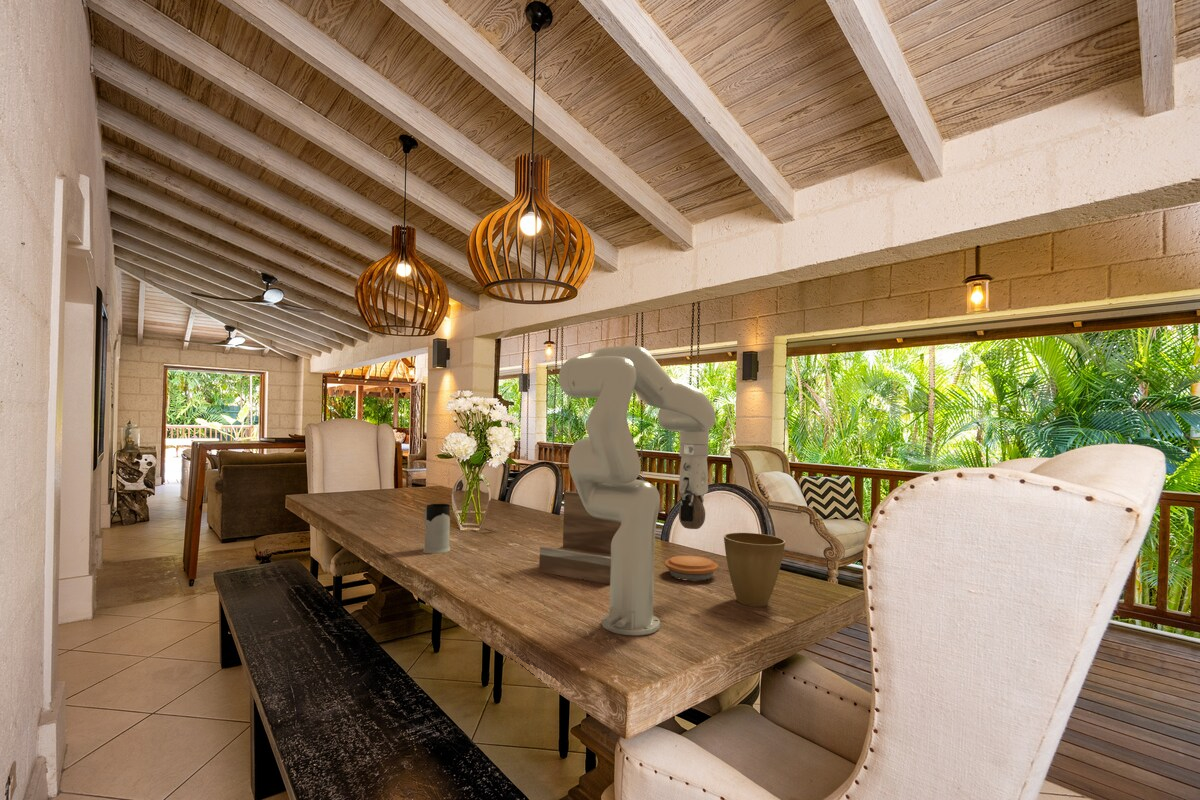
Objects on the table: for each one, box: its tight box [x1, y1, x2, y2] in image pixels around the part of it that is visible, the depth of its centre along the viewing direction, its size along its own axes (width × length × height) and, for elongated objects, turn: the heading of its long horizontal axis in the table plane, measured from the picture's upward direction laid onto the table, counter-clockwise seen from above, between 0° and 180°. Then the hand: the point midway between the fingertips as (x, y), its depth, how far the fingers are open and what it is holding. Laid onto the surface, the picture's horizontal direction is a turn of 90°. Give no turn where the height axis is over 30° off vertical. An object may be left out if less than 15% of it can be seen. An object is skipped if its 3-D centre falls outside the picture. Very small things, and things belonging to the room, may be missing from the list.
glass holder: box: [422, 503, 451, 555], centre depth 190 cm, size 9×14×15 cm, turn 41°
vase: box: [678, 494, 706, 530], centre depth 147 cm, size 7×7×9 cm
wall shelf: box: [538, 490, 621, 585], centre depth 165 cm, size 14×24×22 cm, turn 61°
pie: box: [664, 555, 719, 581], centre depth 164 cm, size 16×16×5 cm
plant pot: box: [723, 532, 786, 607], centre depth 141 cm, size 15×15×16 cm
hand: (691, 518), depth 147 cm, fingers closed on vase, 6 cm apart
